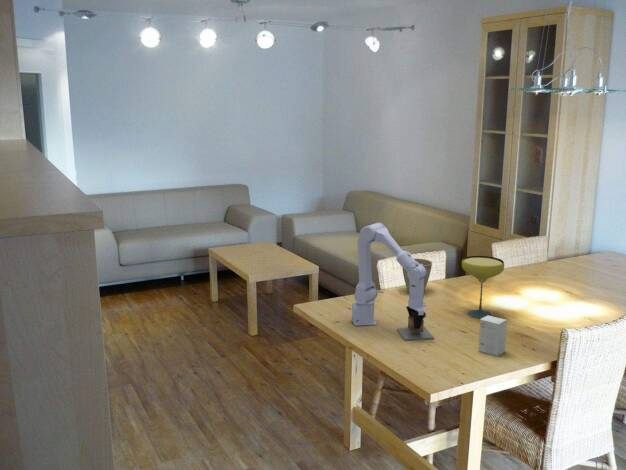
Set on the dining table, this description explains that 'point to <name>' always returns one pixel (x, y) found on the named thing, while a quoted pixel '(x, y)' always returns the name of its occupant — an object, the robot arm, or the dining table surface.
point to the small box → (492, 335)
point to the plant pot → (428, 267)
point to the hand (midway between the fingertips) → (415, 326)
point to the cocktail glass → (482, 275)
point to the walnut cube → (411, 325)
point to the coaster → (414, 334)
